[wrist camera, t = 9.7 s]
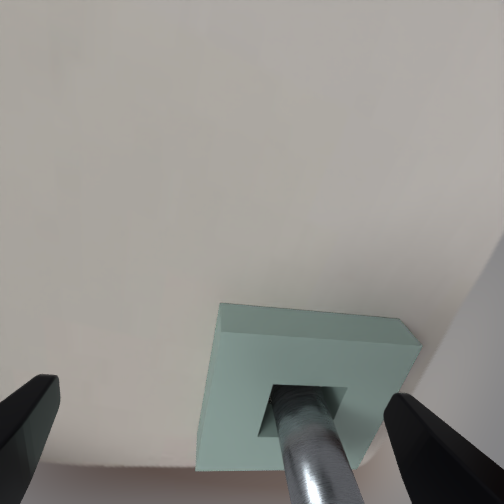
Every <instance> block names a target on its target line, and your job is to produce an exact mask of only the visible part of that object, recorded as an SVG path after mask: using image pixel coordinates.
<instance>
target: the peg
mask: <svg viewBox="0 0 504 504" xmlns="http://www.w3.org/2000/svg"><path fill="white" fill-rule="evenodd" d="M270 397H271V403H272V408H273V413H274V418H275V423H276V428H277V433H278V439H279V444H280V449H281V454H282V459H283V464H284V469H285V475H286V480H287V484H288V489H289V495H290V500H291V504H364V501H363V498H362V496H361V493H360V490H359V488H358V485H357V483H356V480H355V477H354V475H353V472H352V469H351V467H350V464H349V461H348V459H347V456H346V453H345V451H344V448H343V445H342V443H341V440H340V438H339V435H338V432H337V430H336V427H335V424H334V422H333V419H332V416H331V414H330V411H329V408H328V406H327V403H326V401H325V398H324V395H323V393H322V390H321V387H320V386H304V385H280V384H273V386H272V389H271V393H270Z"/></svg>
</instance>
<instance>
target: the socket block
mask: <svg viewBox="0 0 504 504" xmlns="http://www.w3.org/2000/svg"><path fill="white" fill-rule="evenodd" d="M422 347H423V346H422V345H421V343H420V342H419V341H418V340H417V339H416V338H415V336H414V335H413V334H412V333H411V332H410V331H409V330H408V328H407V327H406V326H405V325H404V324H403V323H402V322H401V320H400V319H395V318H384V317H373V316H361V315H350V314H339V313H328V312H316V311H305V310H294V309H283V308H272V307H260V306H249V305H238V304H227V303H220V305H219V311H218V317H217V323H216V328H215V334H214V340H213V346H212V351H211V357H210V363H209V369H208V374H207V380H206V386H205V392H204V398H203V403H202V409H201V415H200V421H199V426H198V432H197V447H196V469H195V471H246V470H247V471H252V470H285V469H284V464H283V459H282V454H281V449H280V444H279V439H278V433H277V428H276V423H275V418H274V413H273V408H272V403H268V399H269V396H270V393H271V389H272V386H273V384H280V385H304V386H322V387H321V390H322V393H323V395H324V398H325V401H326V403H327V406H328V408H329V411H330V414H331V416H332V419H333V422H334V424H335V427H336V430H337V432H338V435H339V438H340V440H341V443H342V445H343V448H344V451H345V453H346V456H347V459H348V461H349V464H350V467H351V469H357V468H358V466H359V464H360V462H361V461H362V459H363V457H364V455H365V453H366V451H367V449H368V448H369V446H370V444H371V442H372V440H373V438H374V436H375V434H376V433H377V431H378V429H379V427H380V425H381V423H382V421H383V420H384V418H383V413H384V410H385V408H386V406H387V404H388V402H389V401H390V399H391V397H392V395H393V394H395V393H398V392H399V390H400V388H401V386H402V384H403V382H404V380H405V378H406V377H407V375H408V373H409V371H410V369H411V367H412V365H413V364H414V362H415V360H416V358H417V356H418V354H419V352H420V350H421V349H422Z"/></svg>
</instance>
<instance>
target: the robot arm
mask: <svg viewBox="0 0 504 504" xmlns="http://www.w3.org/2000/svg"><path fill="white" fill-rule="evenodd" d="M59 405H60V387H59V378H58V376H57V375H49V374H39V375H37V376H35V377H34V378H32V379H31V380H30V381H28V382H27V383H26V384H24V385H23V386H22V387H20V388H19V389H18V390H16V391H15V392H14V393H12V394H11V395H10V396H8V397H7V398H6V399H4V400H3V401H2V402H0V504H20V503H21V500H22V499H23V497H24V494H25V492H26V490H27V488H28V486H29V484H30V481H31V479H32V477H33V474H34V472H35V469H36V467H37V464H38V462H39V459H40V456H41V454H42V451H43V448H44V446H45V443H46V440H47V438H48V435H49V433H50V430H51V427H52V425H53V422H54V419H55V417H56V414H57V411H58V409H59ZM383 418H384V422H385V425H386V429H387V432H388V435H389V438H390V442H391V445H392V448H393V451H394V455H395V457H396V461H397V464H398V467H399V470H400V473H401V476H402V479H403V482H404V484H405V487H406V490H407V492H408V494H409V497H410V500H411V502H412V504H504V469H502V468H501V467H500V466H499V465H497V464H496V463H495V462H494V461H492V460H491V459H490V458H489V457H487V456H486V455H485V454H484V453H482V452H481V451H480V450H479V449H477V448H476V447H475V446H474V445H472V444H471V443H470V442H469V441H467V440H466V439H465V438H464V437H462V436H461V435H460V434H459V433H458V432H456V431H455V430H454V429H452V428H451V427H450V426H449V425H448V424H446V423H445V422H444V421H443V420H441V419H440V418H439V417H438V416H436V415H435V414H434V413H433V412H431V411H430V410H429V409H428V408H426V407H425V406H424V405H423V404H421V403H420V402H419V401H418V400H416V399H415V398H414V397H413V396H411V395H410V394H407V393H395V394H393V395H392V397H391V399H390V401H389V402H388V404H387V406H386V408H385V410H384V413H383Z"/></svg>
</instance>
